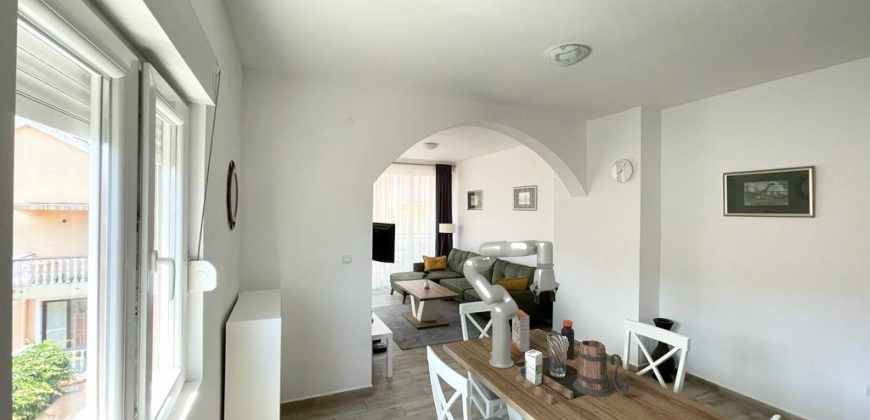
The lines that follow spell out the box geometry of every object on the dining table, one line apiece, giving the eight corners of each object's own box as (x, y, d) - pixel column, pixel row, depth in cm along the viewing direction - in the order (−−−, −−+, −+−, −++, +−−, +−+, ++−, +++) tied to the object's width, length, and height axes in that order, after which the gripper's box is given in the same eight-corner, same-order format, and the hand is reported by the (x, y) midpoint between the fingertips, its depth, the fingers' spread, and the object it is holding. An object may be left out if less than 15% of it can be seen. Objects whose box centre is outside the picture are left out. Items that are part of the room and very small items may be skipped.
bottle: (563, 354, 204) (563, 318, 204) (575, 357, 200) (575, 320, 200) (559, 357, 199) (559, 321, 199) (571, 361, 194) (571, 323, 195)
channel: (515, 380, 172) (515, 367, 172) (535, 375, 176) (535, 363, 177) (551, 404, 150) (551, 390, 150) (573, 398, 155) (573, 384, 155)
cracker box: (511, 344, 220) (511, 309, 220) (521, 343, 220) (521, 309, 221) (519, 352, 206) (519, 316, 206) (529, 352, 206) (529, 315, 207)
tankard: (566, 387, 164) (566, 343, 165) (581, 376, 177) (581, 334, 177) (622, 407, 148) (622, 358, 148) (634, 392, 160) (634, 347, 161)
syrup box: (531, 379, 173) (531, 348, 173) (542, 383, 169) (542, 352, 169) (524, 382, 169) (524, 351, 169) (535, 387, 165) (535, 355, 165)
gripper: (553, 264, 182) (553, 298, 182) (525, 266, 175) (525, 302, 175) (564, 266, 176) (564, 302, 175) (535, 269, 169) (535, 305, 168)
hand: (544, 302), depth 175 cm, fingers open, 9 cm apart
